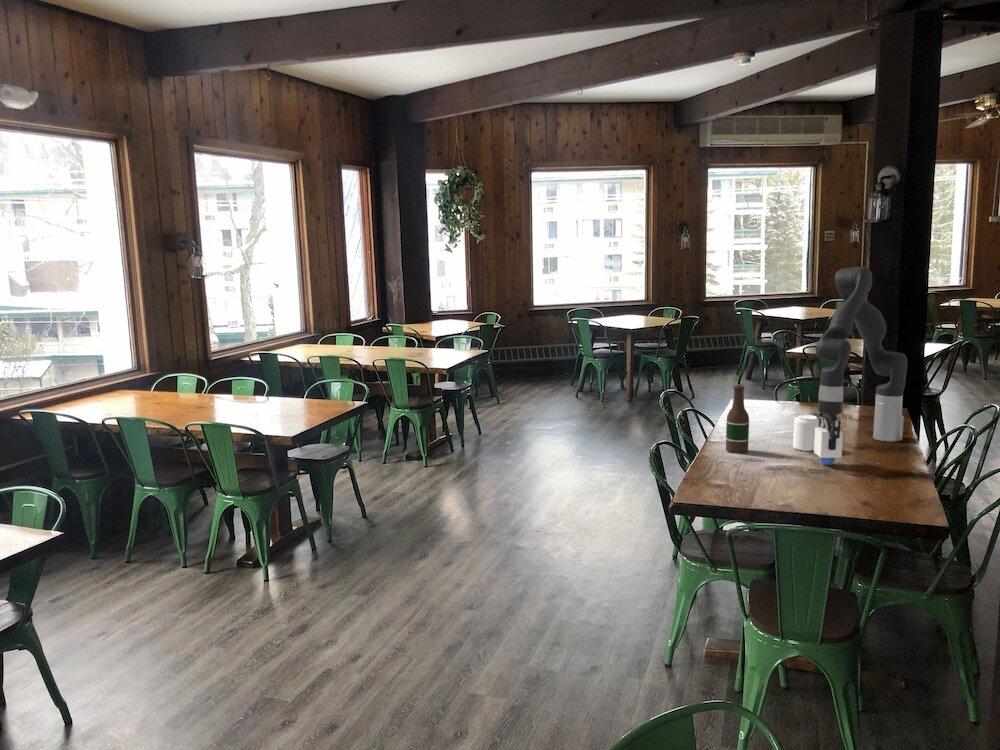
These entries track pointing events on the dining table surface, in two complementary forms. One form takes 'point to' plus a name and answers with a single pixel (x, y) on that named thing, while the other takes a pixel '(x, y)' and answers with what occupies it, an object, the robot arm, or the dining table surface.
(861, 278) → the robot arm
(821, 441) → the white matte cube
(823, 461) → the ball
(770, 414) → the dining table surface
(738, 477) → the dining table surface
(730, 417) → the beer bottle
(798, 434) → the beverage can
